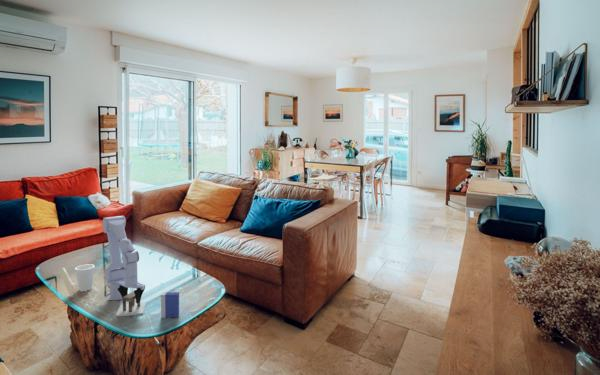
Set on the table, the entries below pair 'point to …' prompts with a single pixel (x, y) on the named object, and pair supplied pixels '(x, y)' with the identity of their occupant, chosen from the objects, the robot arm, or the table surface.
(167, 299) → the walkman
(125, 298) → the brown forked block
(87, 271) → the foam cup
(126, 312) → the mat
